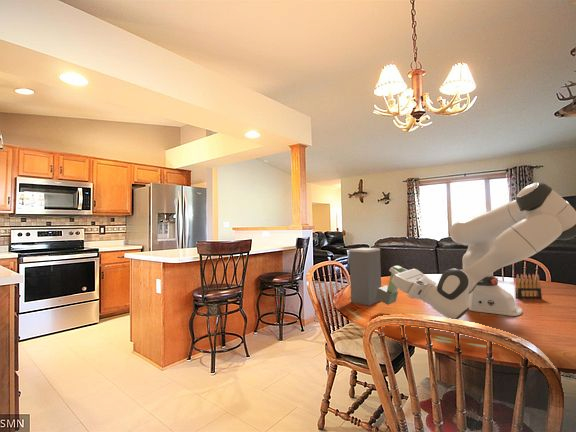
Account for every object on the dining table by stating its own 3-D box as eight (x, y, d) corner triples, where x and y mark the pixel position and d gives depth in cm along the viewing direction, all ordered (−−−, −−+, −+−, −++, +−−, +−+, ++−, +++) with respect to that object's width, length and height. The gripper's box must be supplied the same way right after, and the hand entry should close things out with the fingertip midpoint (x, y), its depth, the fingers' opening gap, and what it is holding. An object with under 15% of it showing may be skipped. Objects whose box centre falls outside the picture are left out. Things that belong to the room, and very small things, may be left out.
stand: (381, 300, 147) (379, 248, 148) (369, 305, 138) (367, 250, 139) (364, 297, 154) (362, 247, 155) (351, 302, 146) (349, 249, 146)
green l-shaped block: (404, 267, 126) (391, 262, 130) (396, 269, 121) (383, 264, 125) (395, 301, 128) (383, 295, 133) (388, 304, 123) (375, 298, 128)
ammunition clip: (539, 298, 144) (538, 273, 144) (542, 299, 142) (540, 274, 143) (515, 297, 146) (514, 273, 146) (517, 298, 144) (516, 274, 144)
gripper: (436, 277, 123) (407, 259, 132) (416, 285, 109) (385, 264, 117) (429, 289, 125) (401, 270, 134) (408, 299, 111) (378, 277, 120)
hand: (393, 267), depth 125 cm, fingers closed on green l-shaped block, 4 cm apart
